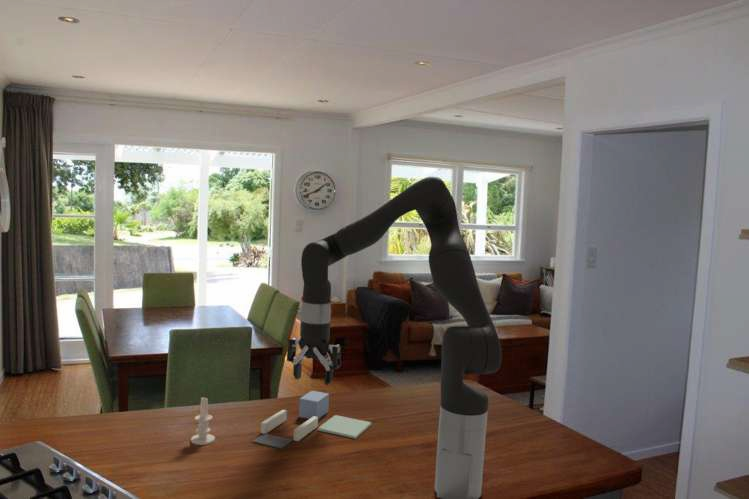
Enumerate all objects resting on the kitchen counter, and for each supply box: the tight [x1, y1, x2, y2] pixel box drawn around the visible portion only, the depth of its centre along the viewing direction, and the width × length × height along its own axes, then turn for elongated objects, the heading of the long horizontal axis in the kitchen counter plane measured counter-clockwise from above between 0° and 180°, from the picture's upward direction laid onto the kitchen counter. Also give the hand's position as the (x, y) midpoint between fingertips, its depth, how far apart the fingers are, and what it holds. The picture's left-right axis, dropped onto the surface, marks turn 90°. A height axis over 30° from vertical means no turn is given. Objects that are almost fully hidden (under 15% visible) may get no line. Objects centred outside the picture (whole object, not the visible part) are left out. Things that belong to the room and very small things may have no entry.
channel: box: [252, 409, 319, 450], centre depth 144 cm, size 16×10×2 cm, turn 159°
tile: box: [317, 414, 372, 440], centre depth 150 cm, size 10×10×1 cm
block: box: [298, 390, 330, 420], centre depth 158 cm, size 7×5×5 cm
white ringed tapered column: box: [190, 395, 216, 446], centre depth 137 cm, size 5×5×10 cm
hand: (312, 381), depth 156 cm, fingers open, 8 cm apart
